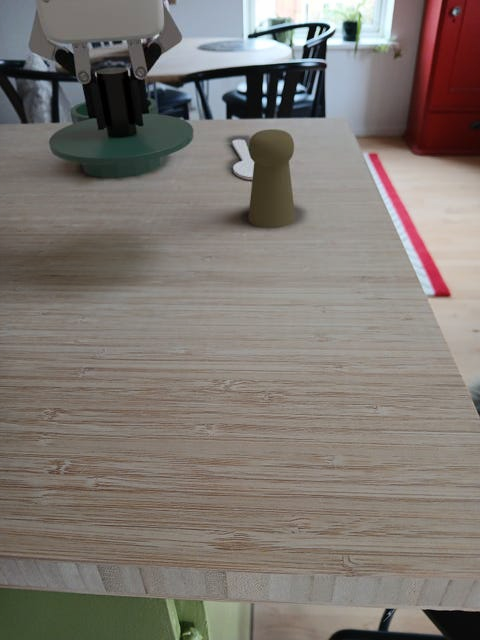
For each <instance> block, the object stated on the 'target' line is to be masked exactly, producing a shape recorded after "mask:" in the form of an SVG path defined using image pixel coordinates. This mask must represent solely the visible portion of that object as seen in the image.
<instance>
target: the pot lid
mask: <svg viewBox="0 0 480 640" xmlns="http://www.w3.org/2000/svg"><path fill="white" fill-rule="evenodd" d="M95 75H96V79H98V84H99V89H100V95H101V100H102V106H103V111H104V117H105V122H106V128H104V130H98V125H97V120H96V118H94V119H88V120H84V121H81V122H77V123H74V124H73V123H71V124H69V125H67V126H64V127H63V128H60V129H58V130H57V131H56V132H54V133H53V134H52V135H51V136H50V137H49V141H48V146H49V149H50V151H51V153H52V154H53V155H54V156H55V157H57V158H59V159H62V160H63V161H66V162H67V161H68V162H70V163H71V162H72V163H76V164H81V165H82V164H95V165H112V164H126V163H134V162H141V161H146V160H151V159H155V158H159V157H163V156H164V157H166V156H169V155H171V154H174V153H176V152H179V151H181V150H183V149H184V148H186V147H187V146H188V145H189V144H190V143H191V142H192V141H193V139H194V135H195V133H194V128H193V125H192V124H191V123H189V122H188V121H186V120H184V119H183V118H180V117H176V116H171V115H166V114H161V113H160V114H159V113H158V114H142V118H143V125H144V126H138V125H136V124H135V117H134V111H133V104H132V97H131V90H130V84H129V76H130V73H129V70H128V68H125V67H106V68H101V69H98V70H96V72H95Z"/></svg>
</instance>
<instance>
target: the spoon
mask: <svg viewBox="0 0 480 640" xmlns="http://www.w3.org/2000/svg"><path fill="white" fill-rule="evenodd" d="M231 145H232V147H233V149H234V151H235V152H236V154H237V155H238V157H239V159H240V161H238V162H236V163H235V164H234V165H233V167H232V171H233V173H234V175H236V176H237V177H239V178H240V179H244V180H249V181H252V179H253V169H254V161H253V160H252V159H251V157H250V154H249V146H248V144H247V141H246V140H244V139H234V140H232V141H231Z"/></svg>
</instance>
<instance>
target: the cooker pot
mask: <svg viewBox="0 0 480 640" xmlns="http://www.w3.org/2000/svg"><path fill="white" fill-rule="evenodd" d="M147 100H148V107H149V114H159V109H158V108H159V107H158V103H157V102H156V101H157V100H155V99H153V98H150V97H148V96H147ZM70 117H71V122H72V124H74V123H77V122H81V121H84V120H88V119H89V117H88V112H87V107H86V102H85V101H83V102H80V103H78V104H76V105H74V106H73V107H71V108H70ZM164 162H165V156H163V157H159V158H155V159H151V160H146V161H141V162H134V163H126V164H112V165H95V164H82V163H81V165H82V170H83V172H84V173H86V174H88V175H89V176H90V177H91V176H92V177H97V178H101V179H122V178H129V177H137V176H140V175H143V174H147V173H150V172H152V171H154V170H156V169H158V168H160V167H161V166H162V165H163V164H164Z"/></svg>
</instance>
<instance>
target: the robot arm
mask: <svg viewBox="0 0 480 640" xmlns="http://www.w3.org/2000/svg"><path fill="white" fill-rule="evenodd" d="M34 1H35V5H36V10H35V14H34V18H33V23H32V27H31V32H30V37H29V41H28V48H29V50H30V51H31V53H33V54H34V55H37V56H40V57H43V58H44V59H47V60H50V61H52V62H54V63H57V64H58V65H59V66H61V68H64V70H66V71H67V73H69V74H70V75H72V76H73V77H74V78H76V80H77V81H78V83H80V84H81V85H82V86H81V88H82V91H83V96H84V102H86V107H87V112H88V117H89V119H94V118H96V120H97V125H98V130H104V128H106V122H105V117H104V111H103V106H102V100H101V95H100V89H99V84H98V79H97V75H96V72H95V70H93V69H92V66H91V55H90V48H89V47H90V46H89V44H93V43H107V42H122V41H126V45H127V49H128V54H129V58H130V64H131V66H130V67H129V70H128V71H129V84H130V90H131V97H132V104H133V111H134V117H135V124H136V125H138V126H144V125H143V118H142V114H149V107H148V100H147V97H148V93H147V86H146V85H147V84H146V78H147V77H148V74H149V72H150V71H151V70H152V68H153V67H154V65H156V63H157V62H158V61H159V59H160V58H161V56H162V55H164V54H165V53H167V52H169V51H170V50H172V49H173V48H174V47H175V46H177V45H179V44H180V43H181V42H182V40H183V35H182V32H181V30H180V29H179V27H178V25H177V24H176V22H175V20H174V18H173V17H172V14H171V13H170V11H169V9H168V8H167V6H166V4H165V2H164V1H163V0H34ZM155 36H156V38H154V39H152V40H150V41H149V42H148V43H147V44H146V45H145V47H143V43H142V40H145V39H149V38H150V39H151V38H153V37H155ZM59 44H64V45H72V51H71V50H69V48H67V47H66V46H62V45H59Z"/></svg>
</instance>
